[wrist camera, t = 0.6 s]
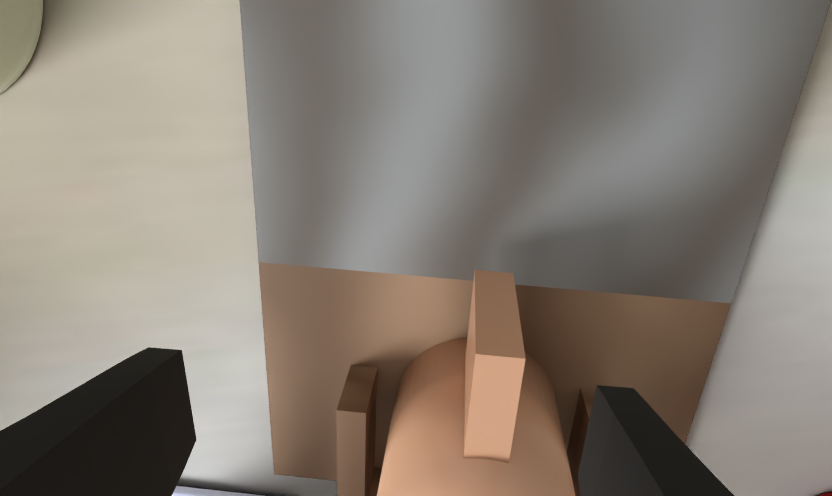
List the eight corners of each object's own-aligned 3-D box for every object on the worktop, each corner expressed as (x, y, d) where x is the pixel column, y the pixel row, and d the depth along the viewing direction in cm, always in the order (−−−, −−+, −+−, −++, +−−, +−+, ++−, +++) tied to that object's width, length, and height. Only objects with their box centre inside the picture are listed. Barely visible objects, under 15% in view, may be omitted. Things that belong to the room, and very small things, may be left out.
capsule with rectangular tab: (393, 455, 23) (369, 600, 18) (402, 246, 19) (375, 350, 14) (542, 471, 23) (565, 624, 17) (583, 261, 19) (630, 375, 13)
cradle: (280, 459, 25) (253, 524, 22) (245, -63, 16) (194, -74, 13) (655, 500, 24) (681, 573, 21) (824, -32, 15) (910, -36, 12)
